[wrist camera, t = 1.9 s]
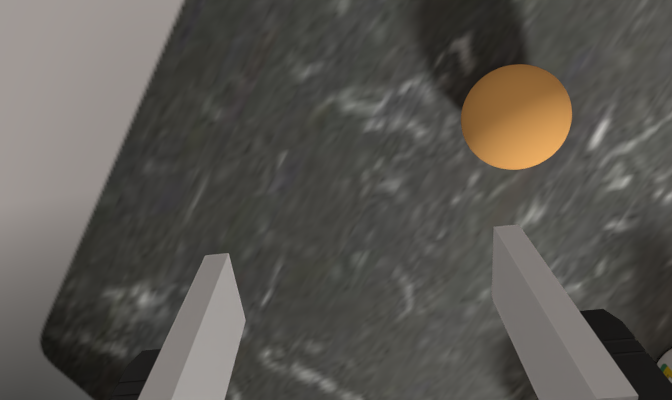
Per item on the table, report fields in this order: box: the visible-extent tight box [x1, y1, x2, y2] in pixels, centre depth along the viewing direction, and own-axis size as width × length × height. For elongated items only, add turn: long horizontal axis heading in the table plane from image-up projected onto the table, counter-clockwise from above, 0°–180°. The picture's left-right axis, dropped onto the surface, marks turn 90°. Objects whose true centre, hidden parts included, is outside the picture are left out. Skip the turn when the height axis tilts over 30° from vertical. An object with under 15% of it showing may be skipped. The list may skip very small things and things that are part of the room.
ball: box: [461, 64, 572, 170], centre depth 28 cm, size 6×6×6 cm
